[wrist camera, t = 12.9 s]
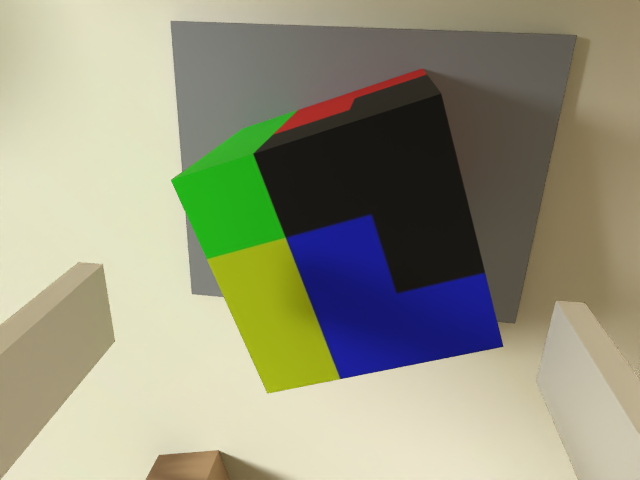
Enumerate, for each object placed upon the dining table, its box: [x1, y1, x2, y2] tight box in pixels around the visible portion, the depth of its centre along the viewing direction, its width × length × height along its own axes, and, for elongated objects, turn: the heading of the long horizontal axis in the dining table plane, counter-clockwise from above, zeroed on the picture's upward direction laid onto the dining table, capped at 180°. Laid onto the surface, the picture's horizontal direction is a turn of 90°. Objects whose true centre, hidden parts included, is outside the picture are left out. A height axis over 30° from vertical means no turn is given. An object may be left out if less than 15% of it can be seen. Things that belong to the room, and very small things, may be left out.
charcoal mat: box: [171, 21, 577, 323], centre depth 29 cm, size 20×16×1 cm
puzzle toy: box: [171, 69, 503, 393], centre depth 24 cm, size 10×10×10 cm
